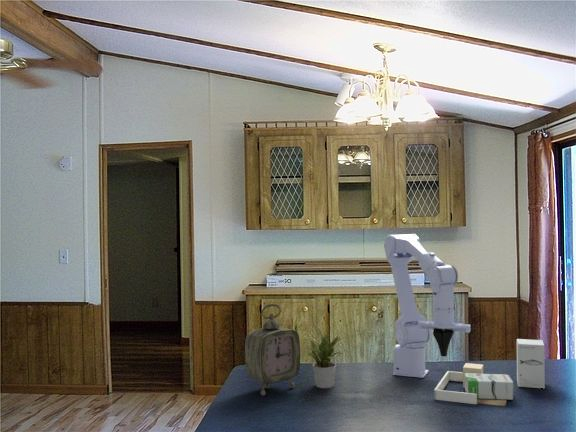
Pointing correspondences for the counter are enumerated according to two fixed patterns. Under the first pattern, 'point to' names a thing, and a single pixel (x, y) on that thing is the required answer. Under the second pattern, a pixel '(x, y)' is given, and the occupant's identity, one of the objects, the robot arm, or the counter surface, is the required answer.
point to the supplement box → (530, 363)
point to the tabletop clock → (272, 353)
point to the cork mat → (493, 401)
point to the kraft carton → (471, 370)
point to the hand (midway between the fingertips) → (443, 355)
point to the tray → (452, 395)
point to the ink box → (489, 386)
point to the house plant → (324, 361)
